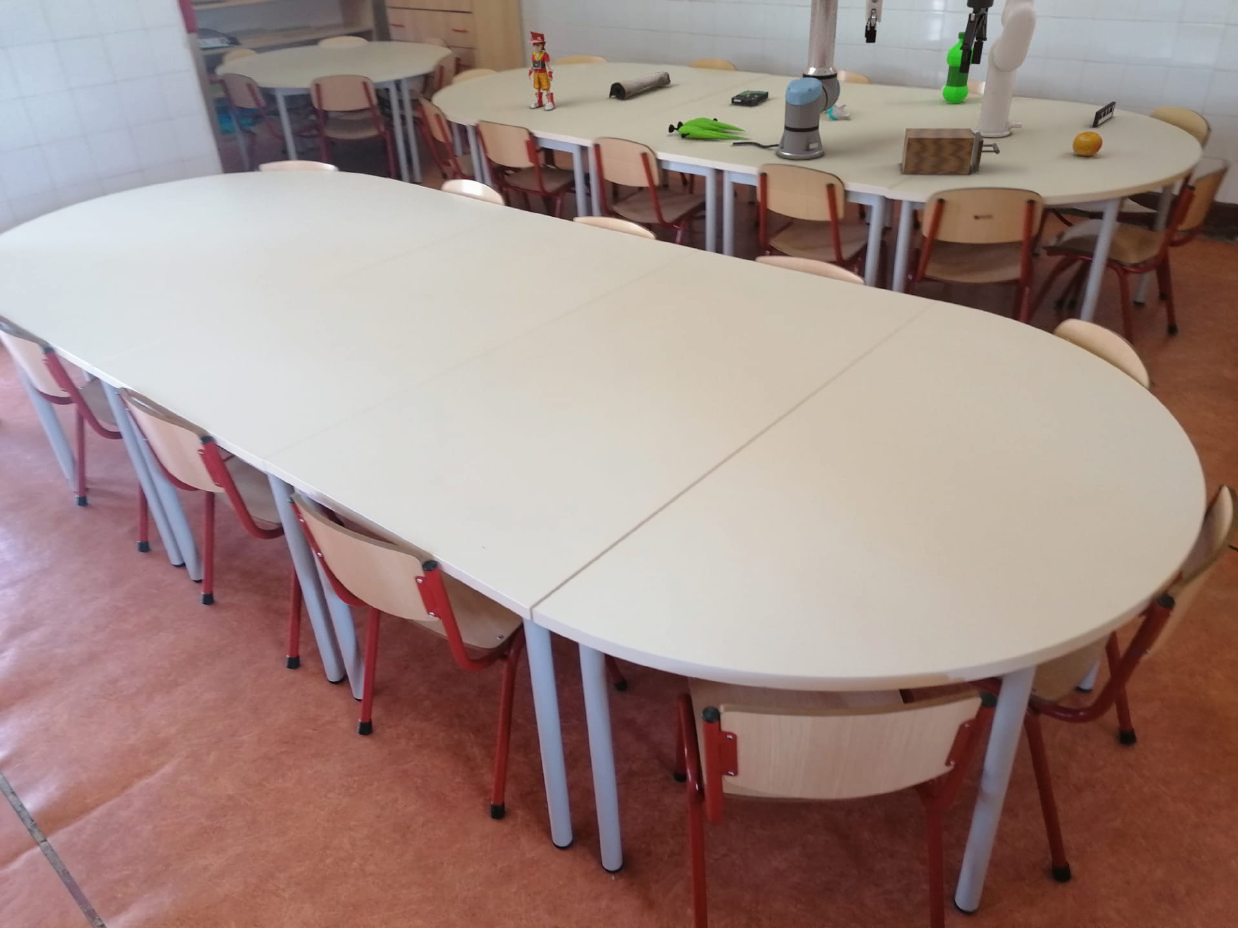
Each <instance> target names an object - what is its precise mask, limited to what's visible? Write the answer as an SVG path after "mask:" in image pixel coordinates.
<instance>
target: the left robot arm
mask: <svg viewBox="0 0 1238 928" xmlns="http://www.w3.org/2000/svg"><path fill="white" fill-rule="evenodd" d="M994 4H995V0H967V1H966V7H967V8H969V9H970V8H971V9H972V12H970V13H968V18H967V23H966V27H965V31H964V32H965V34H964V38H963V42H962V46H961V47H960V50H963V51H962V57H961V64H960V70H959V73H970V67H971V65H981V62H982V61H981V60H982V54H983V50H984V43H985V42H987V41H988V37H987V34H988V33H987V32H988V14H989V8H990V9H991V8H992V7H993V6H994ZM838 8H839V0H811V4H810V21H809V39H808V52H807V53H808V55H807V65H806V67H805V68H804V69H803V70H802V76H801V77H800V78H796V79H794V80H791V81H790V82H789V83H788V84H787V86H786V89H785V95H784V97H785V100H784V101H785V102H784V103H785V104H784V124H783V133H782V135H781V138H780V141H779V143H776V144H775V143H774V144H768V145H767V144H761V143H760V142H756V141H737V142H732V146H739V145H740V146H741V145H754V146H758V147H760V148H763V149H770V148H777V155H778V156H779V157H781V158H783V159H788V160H794V161H798V160H799V161H800V160H801V161H802V160H804V161H805V160H812V159H816V158H819V157H821V156H822V155H823V153H824V152H823V150H824V147H823V142H822V137H821V134H820V118H821V115H822V113H824V112H826V111H827V110H828V109H830V108H831V107H832V106H833V105H834V104H835V105H836V103H837V102H838V100H839V98H840V95H841V83H840V81H839V80H838V69H837V68H836V67H835V65H834V63H835V62H834V61H835V52H836V51H835V50H836V36H837V35H836V34H837V23H838V12H839V11H838V10H839V9H838ZM972 48H973V53H972V50H971V49H972ZM971 56H972V59H971ZM970 62H971V65H970ZM836 101H837V102H836Z"/></svg>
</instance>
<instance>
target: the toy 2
mask: <svg viewBox="0 0 1238 928" xmlns="http://www.w3.org/2000/svg"><path fill="white" fill-rule="evenodd" d="M667 131H668V133H669V134H672V133H674V132H675V131H678V134H679V135H680V138H681V139H686V138H691V139H716V140H717V139H718V140H719V139H720V140H721V139H722V140H723V139H725V140H726V139H727V140H728V139H746V140H747V139H749V137H744V136H739V135H735V134H734V135H733V134H729V133H724V131H736V132H746V130H745V129H742V128H740V127H737V126H736V125H735V126H734V125H731V124H729V123H724V122H720V121H718V119H717V118H716V117H714V118H712V119H710V118H708V117H695V118H694V119H691V120H690V119H689V120H687V121H686V122H682V121H678V122H677V125H676V126H675V125H674V124H672V123H670V124H669V126H668V130H667Z"/></svg>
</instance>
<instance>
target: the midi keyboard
mask: <svg viewBox="0 0 1238 928" xmlns="http://www.w3.org/2000/svg"><path fill="white" fill-rule="evenodd" d="M1116 103H1117V102H1116V101H1111V102H1109V103H1108V104H1106V105H1104V106H1103V107H1101V108H1100V109H1098V110H1097V111H1096V112H1095V114H1094V118H1093V122H1092V127H1094V128H1096V127H1098V126H1099V125H1100V124H1102V123H1104V122H1105V121H1107V120H1108V119H1109V118H1111V117H1113V115H1114V111H1115V108H1116Z"/></svg>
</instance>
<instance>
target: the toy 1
mask: <svg viewBox="0 0 1238 928" xmlns="http://www.w3.org/2000/svg"><path fill="white" fill-rule="evenodd" d="M529 33H530V35H531V36H528V37H527V38H528V39H529V40H528V41H527V43H529V44H530V43H531V44H532V48H533V50H534V51H533V52H532V55H531V58H530V59H531V63H530V66H528V74H527V75H528V76H527V77H528V79H529V80H531V75H532V74H533V84H532V85H533V86H532V87H533V88H534V89H535V90H536V92H534V95H535V97H536V100H535V101H533V102H531V105H530V108H531V109H535V108H538V107H542V106H544V101H543V100H544V99H543V95H544V92H546V94H545V97H546V99H547V103H546V104H545V106H544V110H546V111H549V110H553V109H554V107H555V106H556V105H555V99H554V92H551V91H550V90H551V86H552V84H551V82H552V81H553V80H554V77H553V73H554V71H555V70H554V69H552V68H551V63H550V61H551V59H550V58H551V57H550V54H549V53H548V52H547V50H546V48H545V46H546V44H547V41H545V35H544V33H543V32H542V33H539V32H535V31H529Z"/></svg>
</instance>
